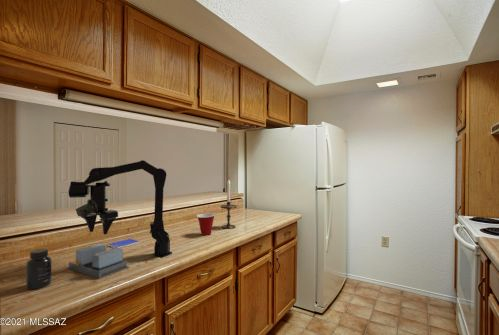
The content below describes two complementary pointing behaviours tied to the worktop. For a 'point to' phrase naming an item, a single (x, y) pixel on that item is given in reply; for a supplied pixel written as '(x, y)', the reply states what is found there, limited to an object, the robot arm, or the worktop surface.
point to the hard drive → (123, 243)
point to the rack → (102, 264)
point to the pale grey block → (88, 253)
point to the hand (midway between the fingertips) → (98, 233)
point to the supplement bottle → (38, 269)
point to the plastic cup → (206, 223)
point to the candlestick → (228, 208)
